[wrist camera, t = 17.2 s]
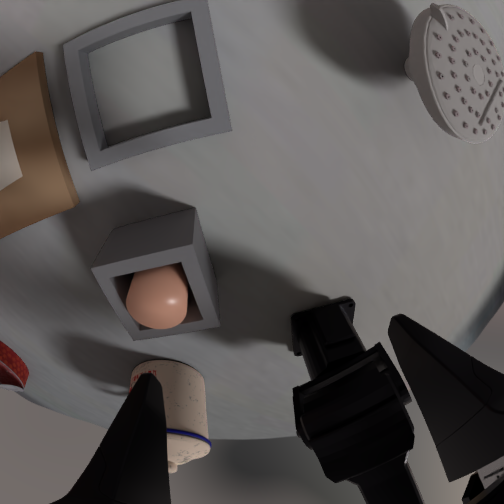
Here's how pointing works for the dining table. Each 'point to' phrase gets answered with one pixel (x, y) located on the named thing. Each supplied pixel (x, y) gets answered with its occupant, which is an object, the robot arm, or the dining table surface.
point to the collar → (219, 122)
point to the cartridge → (7, 157)
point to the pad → (33, 149)
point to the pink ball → (159, 296)
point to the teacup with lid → (180, 409)
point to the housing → (155, 255)
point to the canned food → (12, 370)
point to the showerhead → (457, 72)
